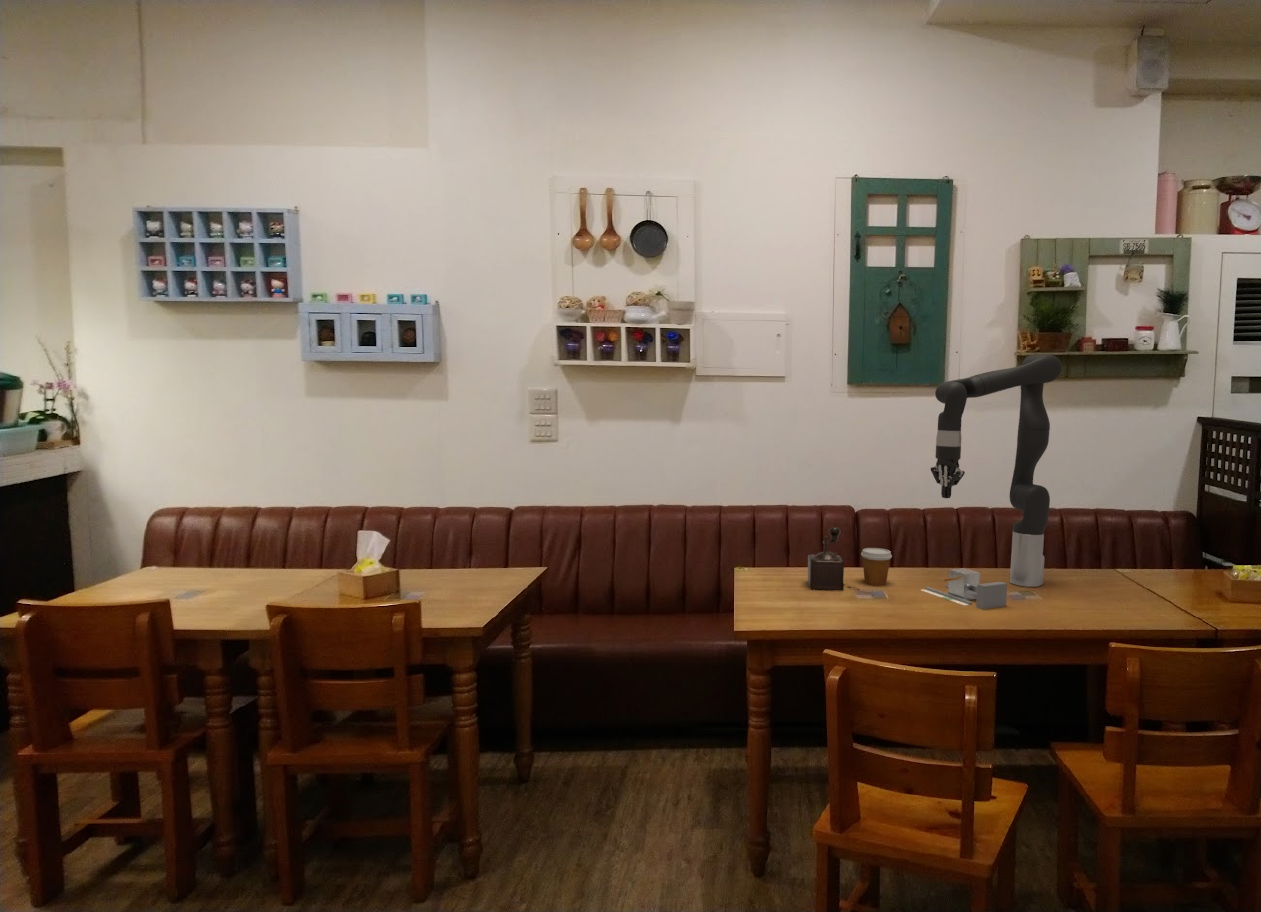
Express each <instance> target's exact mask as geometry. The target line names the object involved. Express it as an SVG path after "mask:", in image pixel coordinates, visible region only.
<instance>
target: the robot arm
mask: <svg viewBox="0 0 1261 912" xmlns="http://www.w3.org/2000/svg"><path fill="white" fill-rule="evenodd" d="M1062 366H1063V365H1062V362H1061V359H1059V358H1058V357H1057V356H1055V355H1053V354H1049V353H1048V354H1047V353H1045V354H1044V353H1042V354H1031V355H1027V356H1026V357H1025V358H1024V360H1023V361H1022V363H1021V365H1019V366H1013V367H1009V368H1003V369H997V370H991V371H987V372H981V373H979V374H975V375H971V376H969V377H965V378H959V379H958V378H957V379H954V380H949V381H944V382H942V383H940V384H939V385H937V388H935V393H934V395H935V398H936V400H937V401H938V402H940V403H941V404H944V408H943V411H941V412H940V413H939V415H938V418H937V433H936V438H935V439H936V440H935V442H936V443H935V455H934V456H935V459H936V463H935V466H932V467H930V472H931V474H932V476H933V478H934V479H935V481H936V484H939V485H940V486H941V493H940V494H941V498H942V499H950V498H951V497H952V488H953V486H957V485H958V484H959V482H960V481H961V479H962V478H963V477H964V476H965V472H966V471H965V470H961V468H960V463H959V461H960V460H961V457H962V456H961V454H962V417H963V415H964V412H965V408H966V404H967V400H968V399H971V398H981V397H983V396H987V395H991V394H995V393H999V392H1001V391H1005V390H1009V389H1012V388H1016V387H1019V386H1020V404H1019V405H1020V406H1019V418H1018V419H1019V420H1018V425H1017V426H1018V428H1017V435H1016V436H1017V437H1016V438H1017V439H1016V453H1015V460H1014V468H1013V472H1012V473H1013V475H1012V478H1011V484H1010V488H1009V503H1010V504H1011V505H1012V507H1013V508H1014V509H1016V510H1019V511H1023V516H1022V519H1021V520H1018V521H1015V522H1013V524H1012V525H1013V526H1012V538H1011V539H1012V540H1011V541H1012V542H1011V556H1010V558H1011V559H1010V573H1009V583H1010V584H1011V585H1015V586H1020V587H1027V588H1028V587H1029V588H1037V587H1040V586H1041V585H1044V573H1045V555H1044V553H1043V552H1044V540H1045V529H1046V527H1047V524H1048V520H1049V512H1050V504H1051V497H1050V493H1049V491H1048V489H1047V488H1046V487H1045V486H1043V485H1039V484H1034V475H1035V470H1036V467H1037V464H1038V463H1039V461H1040V460H1041V459H1042V456H1043V455H1044V454H1045V452H1046V450H1047V448H1048V446H1049V441H1050V430H1051V424H1050V423H1051V422H1050V418H1049V416H1048V411H1047V409H1046V406H1045V403H1044V399H1043V398H1044V396H1043V395H1044V393H1043V392H1044V386H1045V385H1044V384H1046V383H1047V384H1048V383H1051V382H1053V381H1055V380H1057V379H1058V378H1059V377H1060V375H1061V374H1062V370H1063V367H1062Z"/></svg>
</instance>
